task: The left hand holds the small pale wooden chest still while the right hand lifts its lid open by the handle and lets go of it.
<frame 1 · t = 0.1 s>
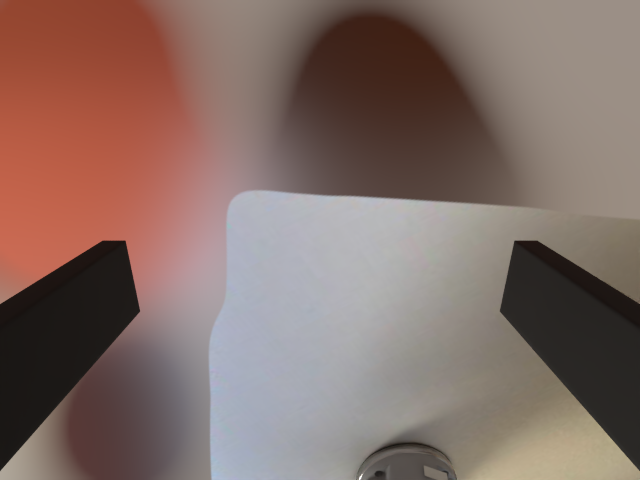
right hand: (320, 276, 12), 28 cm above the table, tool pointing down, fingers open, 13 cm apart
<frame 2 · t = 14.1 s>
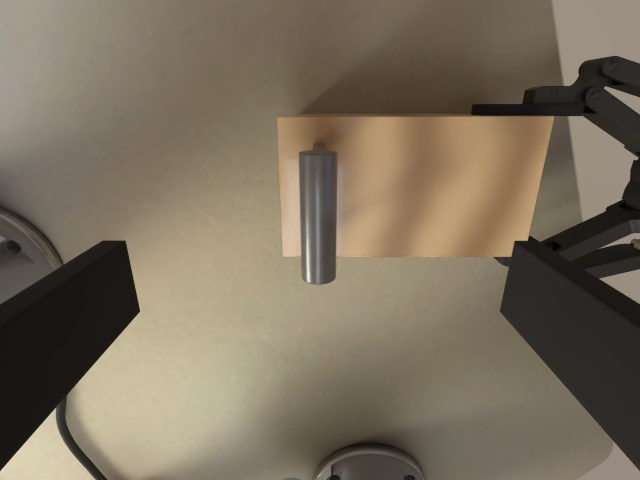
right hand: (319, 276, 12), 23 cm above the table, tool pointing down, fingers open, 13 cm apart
lid: (421, 203, 21), point 13 cm above the table, hinge at 0.0°
chest: (389, 168, 34), on the table, touching left hand
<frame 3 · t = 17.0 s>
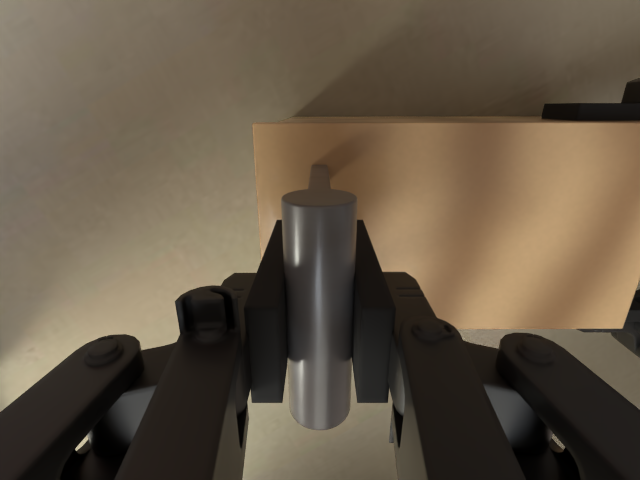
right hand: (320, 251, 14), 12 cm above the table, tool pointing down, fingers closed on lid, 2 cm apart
lid: (489, 267, 13), point 13 cm above the table, hinge at 0.5°, touching right hand
chest: (413, 189, 25), on the table, touching left hand
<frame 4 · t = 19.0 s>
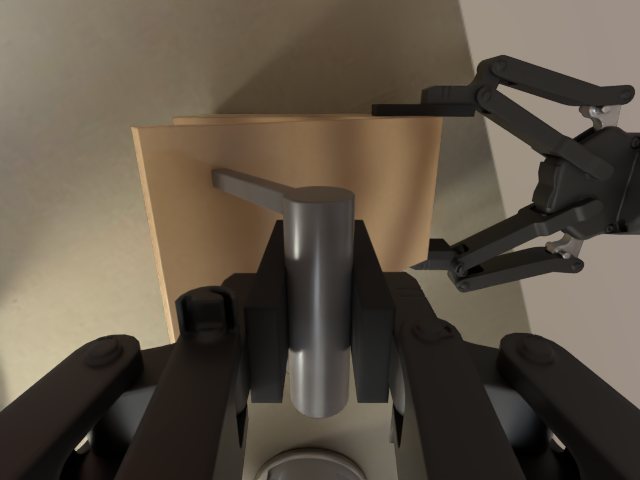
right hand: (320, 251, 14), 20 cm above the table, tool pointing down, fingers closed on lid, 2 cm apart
left hand: (370, 184, 27), fingers closed on chest, 10 cm apart
lid: (381, 234, 16), point 18 cm above the table, hinge at 38.4°, touching right hand
chest: (307, 169, 33), on the table, touching left hand
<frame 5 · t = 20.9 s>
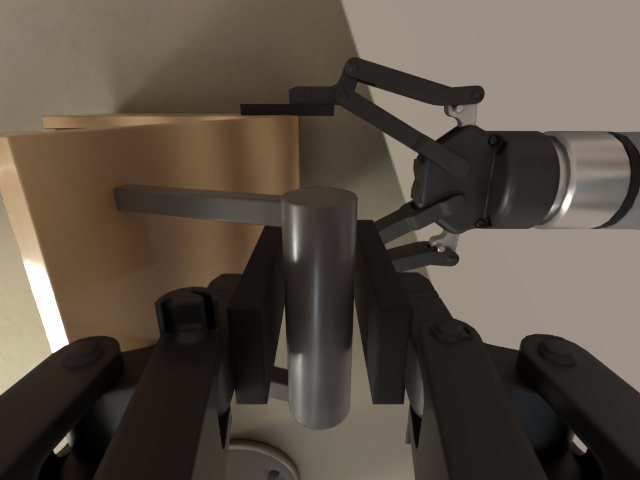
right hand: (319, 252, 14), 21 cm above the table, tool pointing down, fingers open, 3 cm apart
left hand: (249, 180, 28), fingers closed on chest, 10 cm apart
lid: (296, 232, 16), point 19 cm above the table, hinge at 71.8°
chest: (211, 167, 34), on the table, touching left hand
when the left hand's fingers open (7 cm above the table, at t = 25.2 s): chest stays where it is, on the table.
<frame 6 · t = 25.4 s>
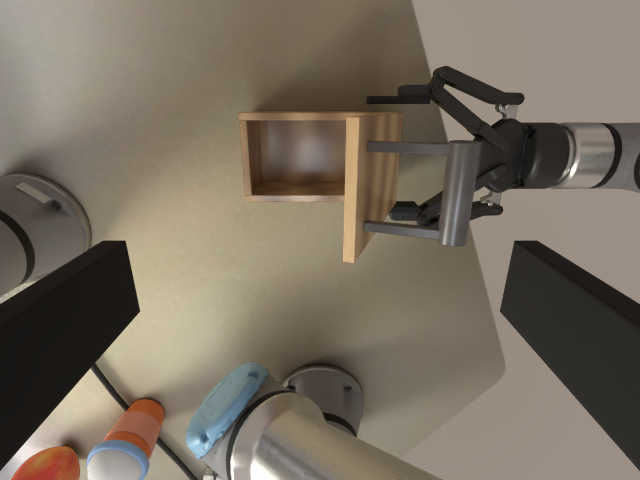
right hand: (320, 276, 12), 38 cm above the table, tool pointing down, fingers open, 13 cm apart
left hand: (365, 156, 42), fingers open, 12 cm apart
apple: (67, 451, 68), on the table
cup with straw: (148, 410, 64), on the table
lid: (420, 175, 30), point 19 cm above the table, hinge at 69.4°
chest: (318, 149, 48), on the table
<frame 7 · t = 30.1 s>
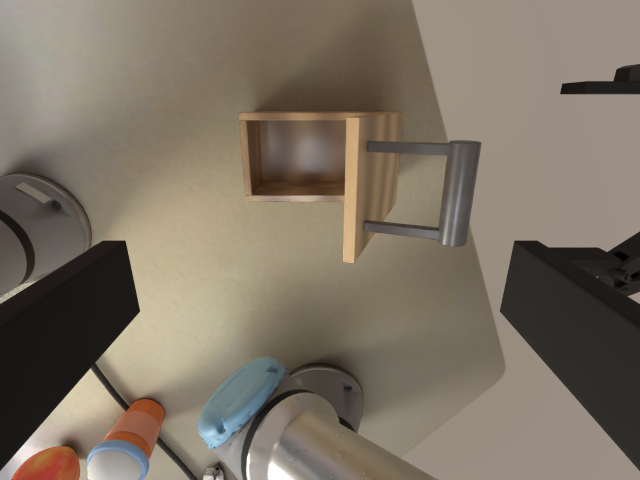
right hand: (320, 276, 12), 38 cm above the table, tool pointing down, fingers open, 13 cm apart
apple: (67, 451, 68), on the table
cup with straw: (148, 410, 64), on the table
lid: (420, 175, 30), point 19 cm above the table, hinge at 69.4°
chest: (318, 149, 48), on the table
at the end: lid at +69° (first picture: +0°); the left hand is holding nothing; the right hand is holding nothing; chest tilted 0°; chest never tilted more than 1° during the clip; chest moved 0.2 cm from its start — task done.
